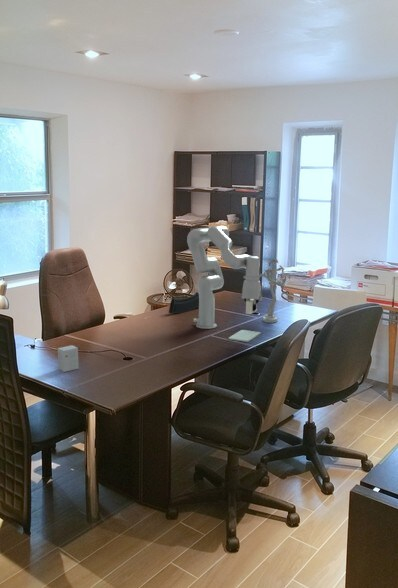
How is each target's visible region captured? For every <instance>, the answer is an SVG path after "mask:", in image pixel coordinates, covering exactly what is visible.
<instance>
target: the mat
mask: <svg viewBox="0 0 398 588" xmlns="http://www.w3.org/2000/svg"><path fill="white" fill-rule="evenodd" d="M261 334H262V332H260V331H254V330H253V331H252V330H247V329H241V330H239V331H238V332H235V333H234V334H232V335H230V336H229V337H228V338H227V339H228V340H231V341H236V342H237V341H238V342H243V343H244V342H245V343H249V342H251V341H252V340H254V339H255V338H256V337H258V336H260V335H261Z"/></svg>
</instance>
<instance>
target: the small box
mask: <svg viewBox="0 0 398 588" xmlns="http://www.w3.org/2000/svg"><path fill="white" fill-rule="evenodd" d="M57 362H58V363H57V364H58V365H57V366H58V368H57V369H58V370H60V371H61V372H63V373H65V372H70V371H74V370H78V369H80V367H79V349H78V347H77V346H75V345H73V344H71V345H66V346H61V347H58V348H57Z"/></svg>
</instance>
